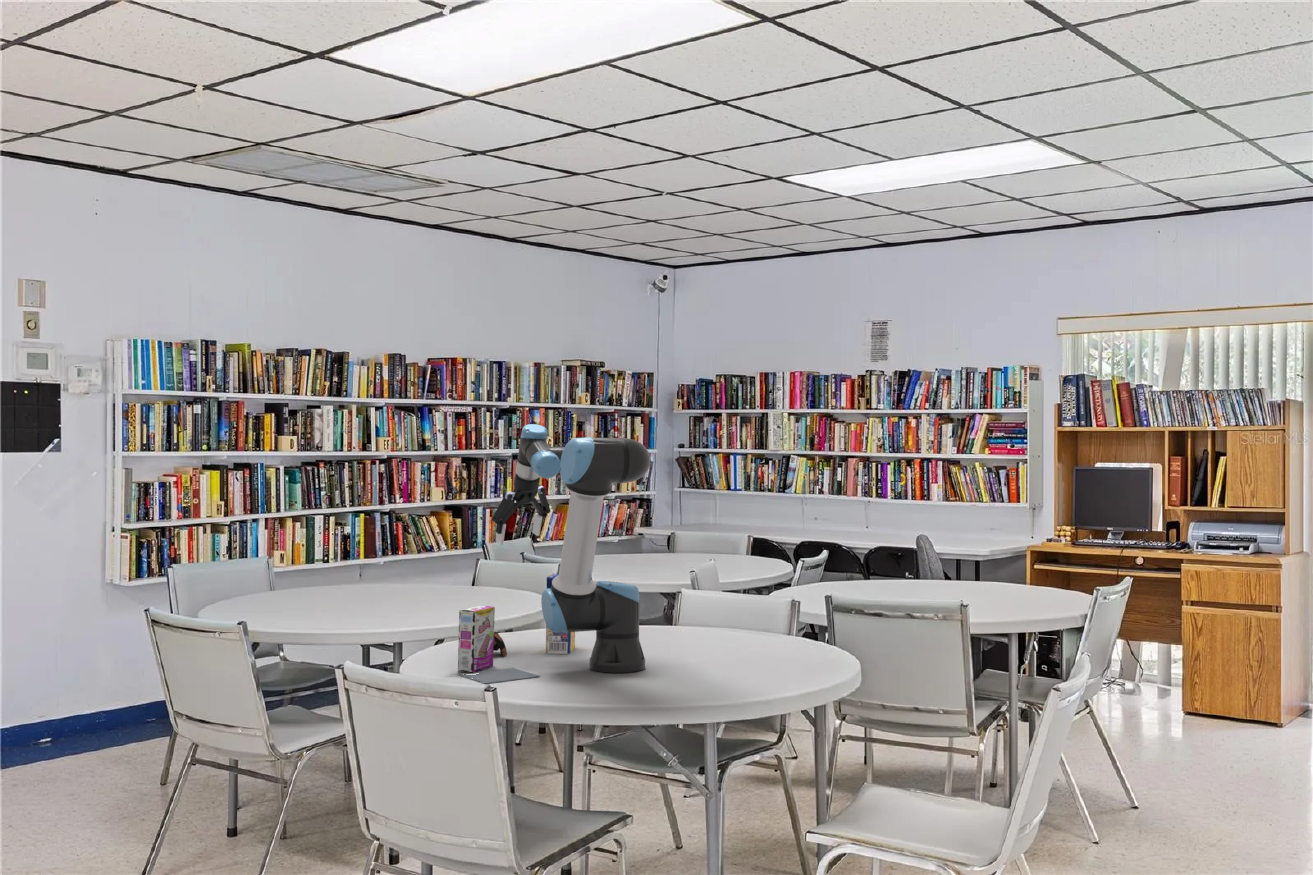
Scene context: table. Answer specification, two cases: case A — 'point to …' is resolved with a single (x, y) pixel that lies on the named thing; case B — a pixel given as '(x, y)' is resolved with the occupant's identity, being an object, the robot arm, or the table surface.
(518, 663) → the table surface
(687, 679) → the table surface
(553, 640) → the beverage box
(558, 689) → the table surface
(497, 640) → the brown curved piece
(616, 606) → the robot arm
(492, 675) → the mat
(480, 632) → the candy bar box
